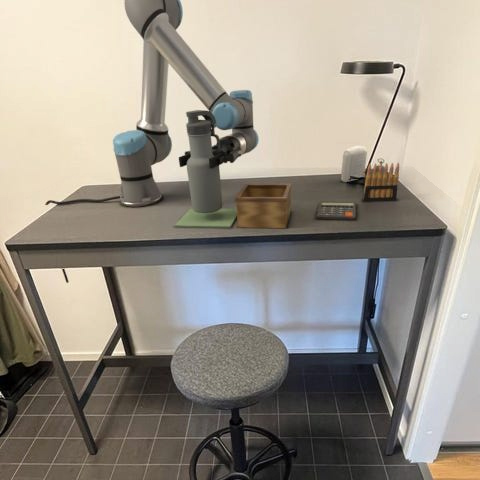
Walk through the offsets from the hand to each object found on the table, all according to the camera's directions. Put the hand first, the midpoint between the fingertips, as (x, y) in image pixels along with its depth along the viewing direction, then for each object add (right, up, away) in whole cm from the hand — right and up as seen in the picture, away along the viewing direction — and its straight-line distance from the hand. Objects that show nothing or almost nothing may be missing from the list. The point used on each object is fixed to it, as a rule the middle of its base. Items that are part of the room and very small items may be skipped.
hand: (195, 162), depth 115 cm
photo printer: (+58, +10, +41) cm, 72 cm away
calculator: (+44, -11, +12) cm, 47 cm away
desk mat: (+3, -13, +13) cm, 19 cm away
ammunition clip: (+60, -5, +19) cm, 63 cm away
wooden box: (+21, -14, +10) cm, 27 cm away
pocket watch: (+66, +4, +33) cm, 74 cm away
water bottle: (+3, -10, +12) cm, 16 cm away
